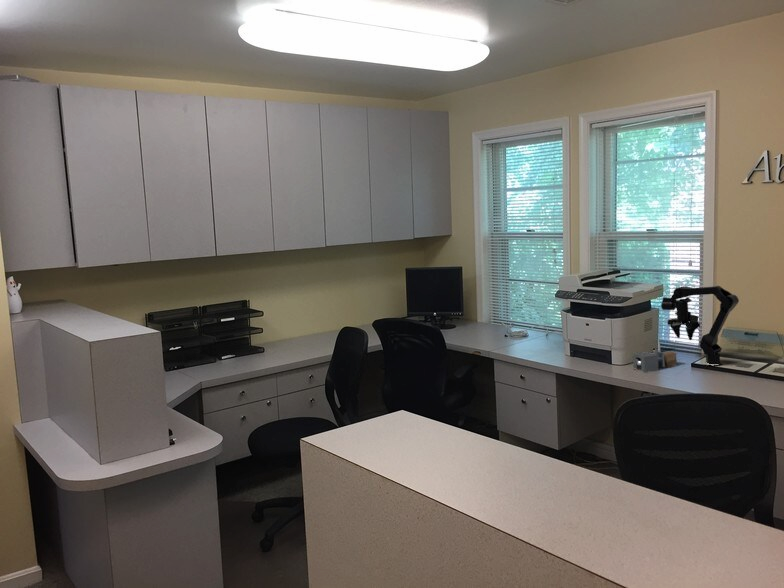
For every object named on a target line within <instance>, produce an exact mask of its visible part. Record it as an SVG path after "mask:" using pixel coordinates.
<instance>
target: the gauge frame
mask: <svg viewBox="0 0 784 588" xmlns="http://www.w3.org/2000/svg"><path fill="white" fill-rule="evenodd" d="M638 361H641V365H637V362H638ZM632 364H633V365H632V366H633V369H634V368H636V369H640V370H641V372H642V371H644V372H643V373H648V371H651V372H655V371H659V366H658V356H657V355H656V354H653V353H648V352H642V351H641V352H639V353H638V352H637V353H632Z"/></svg>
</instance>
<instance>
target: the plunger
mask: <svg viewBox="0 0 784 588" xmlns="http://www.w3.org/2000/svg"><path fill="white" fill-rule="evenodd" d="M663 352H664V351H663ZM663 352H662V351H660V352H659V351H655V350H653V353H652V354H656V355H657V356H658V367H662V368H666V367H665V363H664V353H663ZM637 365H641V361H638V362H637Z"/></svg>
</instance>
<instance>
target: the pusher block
mask: <svg viewBox="0 0 784 588" xmlns="http://www.w3.org/2000/svg"><path fill="white" fill-rule="evenodd" d="M663 353H664V363H665V367H664V368H670V367H671V368H672V367H676V366H678V365H677V364H678V362H677V361H678V360H677V352H675V351H670V350H669V351H663Z"/></svg>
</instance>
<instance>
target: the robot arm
mask: <svg viewBox="0 0 784 588" xmlns="http://www.w3.org/2000/svg"><path fill="white" fill-rule="evenodd" d="M702 295H703V296H704V295H705V296H706V295H714V296H715V297H716V299H717V300H718V301H719V303H720V304H719V311H718V313H717V316H716V317H715V320H714V322H713V324H712V326H711V328H710V330H709V332H708V333H706V334H704V335H702V337H701V339H700V341H699V347H700V349H701V351H703V354H704V355H705V363H706V362H707V363H709V364H719V363H721V355H720V353H721V352H722V350H723V349H722V347H721V346H720V345H719V344H718V342H719V338H718V337H719V334H720V332H721V331H722V328H723V326H724V325H725V323H726V321H727V319H728V317H729V315H730V313H731V312H732V311H733V310H734V309H735V307H736V306H737V305H738V304H739V302H740V300H739V297H738V296H737V295H736V294H732V293H731V292H730V291H728V290H726V289H724V288H723V287H722V286H720V285H714V286H702V287H699V286H698V287H690V286H684V285H683V286H680V287H677V288H675V289H674V290H673V294H672V296H671V297H663V298H662V300H661V304H660V306H661V309H662V310H663V311H675V310H676V311H675V312H674V315H676V317H675V318H670V319H668V320H667V325H668V326H669V327H670V329H671V330H672V331H673V332H674V334H675V336H676V337H677V339H680V338H681V327H682V326H685V332H686V334H687V337H688V340H689V341H692V340H693V336H694V335H695V334H694V333H695V331H696V330H697V329H698V328H700V327H701V322H699V317H700V316H699V315H694V314H692V313H691V311H689V304H688V303H691V302H692V301H693V300H692V299H691V298H689V297H691V296H702Z"/></svg>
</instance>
